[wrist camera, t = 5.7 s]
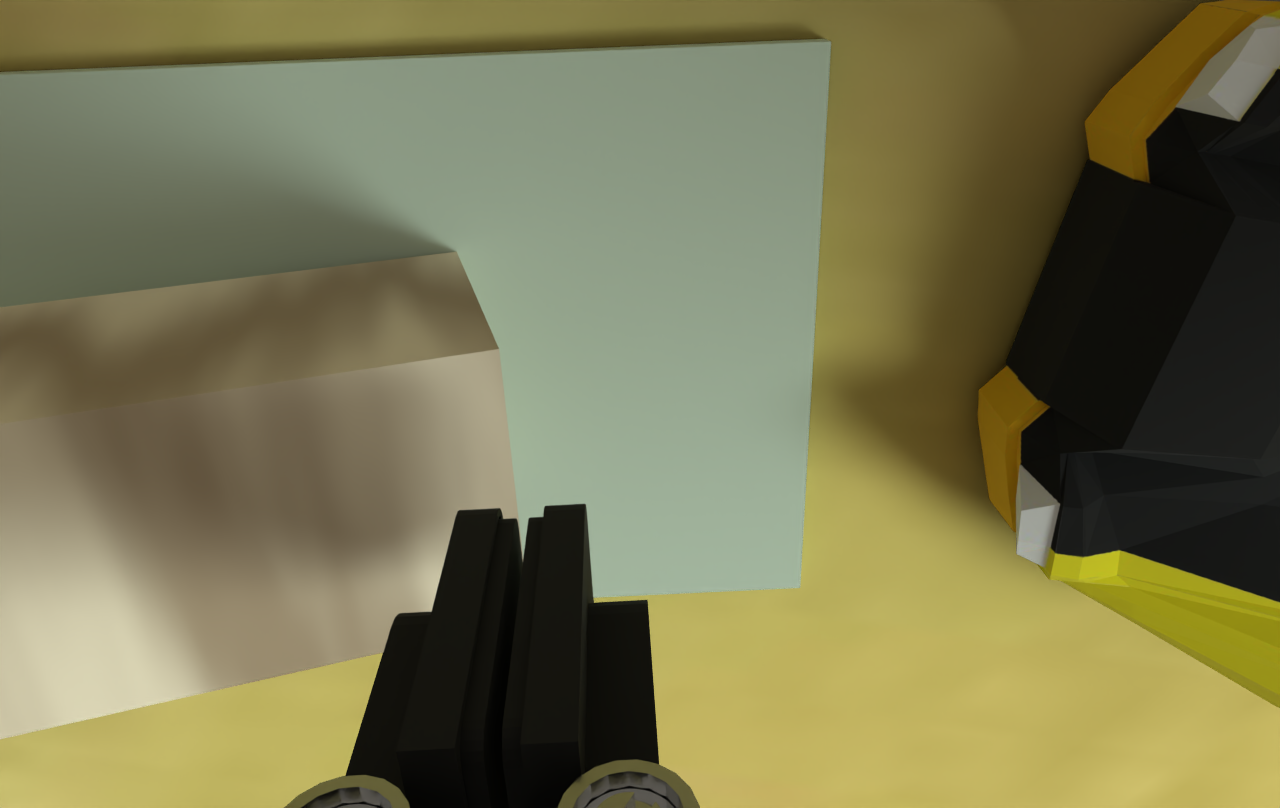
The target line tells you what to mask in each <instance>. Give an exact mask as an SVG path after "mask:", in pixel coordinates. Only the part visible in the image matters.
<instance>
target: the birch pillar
mask: <svg viewBox="0 0 1280 808" xmlns="http://www.w3.org/2000/svg"><path fill="white" fill-rule="evenodd" d="M492 508H500V509H501V511H502V515H503V519H510V518H516V519H517V521H518V526H519V517H518V509H517V500H516V491H515V483H514V474H513V465H512V457H511V448H510V439H509V430H508V422H507V413H506V404H505V396H504V387H503V378H502V370H501V361H500V352H499V348H498V345H497V343H496V341H495V338H494V336H493V334H492V331H491V329H490V327H489V325H488V322H487V320H486V318H485V315H484V313H483V311H482V309H481V306H480V304H479V302H478V299H477V297H476V295H475V293H474V290H473V288H472V286H471V283H470V281H469V279H468V276H467V274H466V272H465V270H464V267H463V265H462V263H461V260H460V258H459V256H458V254H457V252H449V253H441V254H433V255H425V256H416V257H408V258H400V259H392V260H384V261H375V262H367V263H359V264H351V265H343V266H335V267H326V268H318V269H310V270H302V271H294V272H285V273H277V274H269V275H261V276H253V277H244V278H236V279H228V280H220V281H212V282H203V283H195V284H187V285H179V286H171V287H162V288H154V289H146V290H138V291H130V292H121V293H113V294H105V295H97V296H89V297H80V298H72V299H64V300H56V301H48V302H39V303H31V304H23V305H15V306H7V307H0V739H3V738H8V737H12V736H17V735H21V734H25V733H30V732H34V731H39V730H43V729H47V728H52V727H56V726H61V725H65V724H70V723H74V722H78V721H83V720H87V719H92V718H96V717H100V716H105V715H109V714H114V713H118V712H122V711H127V710H131V709H136V708H140V707H145V706H149V705H153V704H158V703H162V702H167V701H171V700H175V699H180V698H184V697H189V696H193V695H197V694H202V693H206V692H211V691H215V690H220V689H224V688H228V687H233V686H237V685H242V684H246V683H250V682H255V681H259V680H264V679H268V678H272V677H277V676H281V675H286V674H290V673H295V672H299V671H303V670H308V669H312V668H317V667H321V666H325V665H330V664H334V663H339V662H343V661H347V660H352V659H356V658H361V657H365V656H370V655H374V654H378V653H383V652H384V649H385V645H386V642H387V639H388V635H389V632H390V629H391V626H392V623H393V621H394V619H395V617H396V616H397V615H398V614H399V613H413V612H432V608H433V604H434V600H435V596H436V592H437V588H438V584H439V580H440V576H441V572H442V568H443V564H444V561H445V557H446V553H447V549H448V545H449V541H450V537H451V533H452V529H453V525H454V521H455V517H456V514H457V511H459V510H473V509H492ZM519 534H520V526H519ZM520 542H521V535H520ZM521 551H522V544H521ZM522 560H523V552H522Z"/></svg>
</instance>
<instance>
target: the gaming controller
mask: <svg viewBox="0 0 1280 808" xmlns="http://www.w3.org/2000/svg"><path fill="white" fill-rule="evenodd" d="M1085 129H1086V136H1087V143H1088V150H1089V156H1090V160H1087V162H1086V165H1085V167H1084V170H1083V172H1082V175H1081V177H1080V179H1079V182H1078V184H1077V187H1076V189H1075V192H1074V194H1073V197H1072V199H1071V202H1070V204H1069V207H1068V209H1067V212H1066V214H1065V217H1064V219H1063V222H1062V224H1061V227H1060V229H1059V232H1058V234H1057V237H1056V239H1055V242H1054V244H1053V246H1052V249H1051V251H1050V254H1049V256H1048V259H1047V261H1046V264H1045V266H1044V269H1043V271H1042V274H1041V276H1040V279H1039V281H1038V284H1037V286H1036V289H1035V291H1034V294H1033V296H1032V299H1031V301H1030V304H1029V306H1028V309H1027V311H1026V313H1025V316H1024V318H1023V321H1022V323H1021V326H1020V328H1019V331H1018V333H1017V336H1016V338H1015V341H1014V343H1013V346H1012V348H1011V351H1010V353H1009V356H1008V358H1007V361H1006V365H1007V366H1006V367H1005V368H1004V369H1003V370H1001V371H1000V372H999V373H998V374H997V375H996V376H994V377H993V378H992V379H991V380H990V381H989V382H987V383H986V384H985V385H984V386H983V387H982V388H980V389H979V398H978V424H979V431H980V438H981V445H982V452H983V459H984V466H985V473H986V480H987V487H988V494H989V500H990V501H991V502H992V503H993V505H994V506H995V507H996V509H997V510H998V511H999V513H1000V514H1001V515H1002V517H1003V518H1004V519H1005V521H1006V522H1007V523H1008V525H1009V526H1010V527H1011V529H1012V530H1013V531H1014V532H1016V554H1018V555H1020V556H1022V557H1024V558H1026V559H1028V560H1030V561H1032V562H1034V563H1036V564H1037V565H1038V566H1039V567H1040V569H1041V570H1042V571H1043V572H1044V574H1045V575H1046V576H1047V577H1048V579H1050V580H1060V581H1062V582H1064V583H1066V584H1067V585H1069V586H1071V587H1073V588H1074V589H1076V590H1078V591H1079V592H1081V593H1083V594H1085V595H1086V596H1088V597H1090V598H1092V599H1093V600H1095V601H1097V602H1099V603H1100V604H1102V605H1104V606H1106V607H1107V608H1109V609H1111V610H1113V611H1114V612H1116V613H1118V614H1120V615H1121V616H1123V617H1125V618H1127V619H1128V620H1130V621H1132V622H1134V623H1135V624H1137V625H1139V626H1140V627H1142V628H1144V629H1146V630H1147V631H1149V632H1151V633H1152V634H1154V635H1156V636H1157V637H1159V638H1161V639H1163V640H1164V641H1166V642H1168V643H1169V644H1171V645H1173V646H1174V647H1176V648H1178V649H1180V650H1181V651H1183V652H1185V653H1186V654H1188V655H1190V656H1191V657H1193V658H1195V659H1197V660H1198V661H1200V662H1202V663H1203V664H1205V665H1207V666H1208V667H1210V668H1212V669H1213V670H1215V671H1217V672H1219V673H1220V674H1222V675H1224V676H1225V677H1227V678H1229V679H1230V680H1232V681H1234V682H1236V683H1237V684H1239V685H1241V686H1242V687H1244V688H1246V689H1247V690H1249V691H1251V692H1253V693H1254V694H1256V695H1258V696H1259V697H1261V698H1263V699H1264V700H1266V701H1268V702H1270V703H1271V704H1273V705H1275V706H1276V707H1279V708H1280V0H1220V1H1216V2H1208V3H1200V4H1199V5H1198V6H1197V7H1196V8H1195V9H1194V10H1193V11H1192V12H1191V13H1190V14H1189V15H1188V16H1187V17H1186V18H1184V19H1183V20H1182V21H1181V22H1180V23H1179V24H1178V25H1177V26H1176V27H1175V28H1174V29H1173V30H1172V31H1171V32H1170V33H1169V34H1168V35H1167V36H1166V37H1165V38H1164V39H1163V40H1162V41H1160V42H1159V43H1158V44H1157V45H1156V46H1155V47H1154V48H1153V49H1152V50H1151V51H1150V52H1149V53H1148V54H1147V55H1146V56H1145V57H1144V58H1143V59H1142V60H1141V61H1140V62H1139V63H1137V64H1136V65H1135V66H1134V67H1133V68H1132V69H1131V70H1130V71H1129V72H1128V73H1127V74H1126V75H1125V76H1124V77H1123V78H1122V79H1121V80H1120V81H1119V82H1118V83H1117V84H1116V85H1115V86H1113V87H1112V88H1111V89H1110V90H1109V91H1108V93H1107V94H1106V95H1105V96H1104V98H1103V99H1102V100H1101V102H1100V103H1099V104H1098V105H1097V107H1096V108H1095V109H1094V110H1093V112H1092V113H1091V114H1090V116H1089V117H1088V118H1087V119H1086V121H1085Z"/></svg>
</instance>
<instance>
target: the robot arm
mask: <svg viewBox="0 0 1280 808" xmlns="http://www.w3.org/2000/svg"><path fill="white" fill-rule="evenodd" d="M284 808H700V806H699V804H698V802H697V800H696V798H695V796H694V794H693V792H692V790H691V788H690V786H689V785H688V784H686V783H685V782H684V781H683V780H682V779H681V778H680V777H679V776H678V775H677V774H676V773H675V772H673V771H671V770H669V769H667V768H665V767H663V766H661V765H659V756H658V742H657V728H656V714H655V700H654V685H653V671H652V657H651V643H650V629H649V615H648V602H647V600H637V601H618V602H600V603H594V600H593V586H592V573H591V560H590V547H589V533H588V520H587V509H586V504H569V505H550V506H545V507H544V513H543V517H530V518H529V519H528V526H527V534H526V542H525V549H524V557H523V560H522V551H521V542H520V534H519V526H518V521H517V519H516V518H510V519H503V515H502V511H501V509H500V508H492V509H473V510H459V511H457V514H456V517H455V521H454V525H453V529H452V533H451V537H450V541H449V545H448V549H447V553H446V557H445V561H444V564H443V568H442V572H441V576H440V580H439V584H438V588H437V592H436V596H435V600H434V604H433V608H432V612H413V613H399V614H398V615H397V616H396V617H395V619H394V621H393V623H392V626H391V629H390V632H389V635H388V639H387V642H386V645H385V649H384V652H383V655H382V658H381V662H380V665H379V668H378V671H377V675H376V678H375V681H374V684H373V688H372V691H371V694H370V697H369V701H368V704H367V707H366V710H365V714H364V717H363V720H362V723H361V727H360V730H359V733H358V737H357V740H356V743H355V746H354V750H353V753H352V756H351V759H350V763H349V766H348V769H347V772H346V776H342V777H339V778H335V779H332V780H329V781H325V782H322V783H319V784H318V785H316V786H314V787H312V788H310V789H309V790H307V791H305V792H303V793H301V794H300V795H298V796H297V797H296V798H295V799H294V800H292V801H291V802H290V803H289V804H288V805H287V806H285V807H284Z"/></svg>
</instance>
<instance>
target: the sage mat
mask: <svg viewBox="0 0 1280 808" xmlns="http://www.w3.org/2000/svg"><path fill="white" fill-rule="evenodd" d="M830 54H831V41H829V40H827V39H806V40H782V41H757V42H732V43H707V44H682V45H658V46H633V47H608V48H583V49H559V50H534V51H509V52H484V53H459V54H435V55H410V56H385V57H360V58H336V59H311V60H286V61H261V62H236V63H212V64H187V65H162V66H137V67H113V68H88V69H63V70H38V71H13V72H0V307H7V306H15V305H23V304H31V303H39V302H48V301H56V300H64V299H72V298H80V297H89V296H97V295H105V294H113V293H121V292H130V291H138V290H146V289H154V288H162V287H171V286H179V285H187V284H195V283H203V282H212V281H220V280H228V279H236V278H244V277H253V276H261V275H269V274H277V273H285V272H294V271H302V270H310V269H318V268H326V267H335V266H343V265H351V264H359V263H367V262H375V261H384V260H392V259H400V258H408V257H416V256H425V255H433V254H441V253H449V252H457V254H458V256H459V258H460V260H461V263H462V265H463V267H464V270H465V272H466V274H467V276H468V279H469V281H470V283H471V286H472V288H473V290H474V293H475V295H476V297H477V299H478V302H479V304H480V306H481V309H482V311H483V313H484V315H485V318H486V320H487V322H488V325H489V327H490V329H491V331H492V334H493V336H494V338H495V341H496V343H497V345H498V348H499V352H500V361H501V370H502V378H503V387H504V396H505V404H506V413H507V422H508V430H509V439H510V448H511V457H512V465H513V474H514V483H515V491H516V500H517V509H518V517H519V526H520V535H521V544H522V552H523V557H524V549H525V542H526V534H527V526H528V519H529V518H530V517H543V513H544V507H545V506H550V505H569V504H586V509H587V520H588V533H589V547H590V560H591V573H592V586H593V598H594V597H616V596H637V595H658V594H679V593H701V592H722V591H743V590H764V589H786V588H800V580H801V562H802V545H803V527H804V510H805V492H806V475H807V457H808V440H809V422H810V405H811V387H812V370H813V352H814V335H815V317H816V300H817V282H818V265H819V247H820V229H821V212H822V194H823V177H824V159H825V142H826V124H827V107H828V89H829V72H830Z"/></svg>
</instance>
